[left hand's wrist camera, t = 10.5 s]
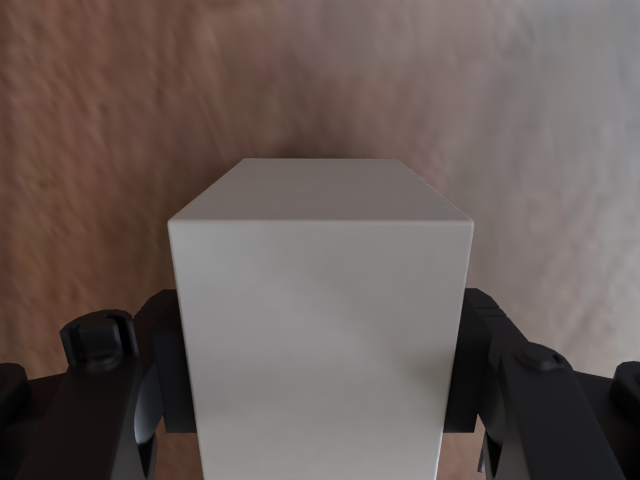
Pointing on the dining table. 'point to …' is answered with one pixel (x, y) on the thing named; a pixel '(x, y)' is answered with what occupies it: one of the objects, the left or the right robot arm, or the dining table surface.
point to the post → (320, 318)
